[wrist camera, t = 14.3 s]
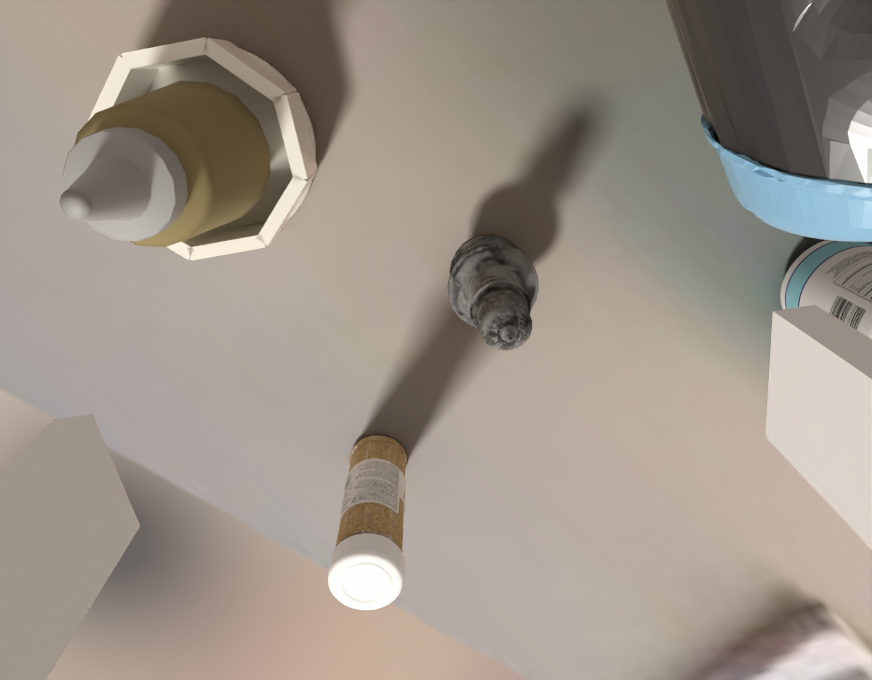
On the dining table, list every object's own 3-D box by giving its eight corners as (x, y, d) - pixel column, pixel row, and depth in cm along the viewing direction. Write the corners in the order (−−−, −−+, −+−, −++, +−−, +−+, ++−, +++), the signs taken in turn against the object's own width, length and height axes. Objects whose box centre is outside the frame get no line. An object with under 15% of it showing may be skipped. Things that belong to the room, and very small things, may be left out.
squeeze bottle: (294, 100, 39) (201, 122, 22) (272, 227, 42) (177, 330, 25) (158, 62, 38) (-44, 56, 21) (146, 195, 41) (-40, 281, 24)
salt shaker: (437, 241, 43) (443, 300, 32) (521, 221, 43) (557, 274, 32) (455, 319, 45) (467, 399, 34) (536, 301, 45) (574, 376, 34)
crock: (177, -2, 37) (145, -12, 33) (352, 122, 40) (343, 128, 36) (94, 170, 41) (54, 183, 36) (259, 272, 44) (241, 295, 39)
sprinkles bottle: (392, 488, 51) (384, 622, 39) (340, 468, 50) (314, 599, 38) (417, 444, 50) (416, 570, 37) (363, 423, 49) (344, 544, 36)
